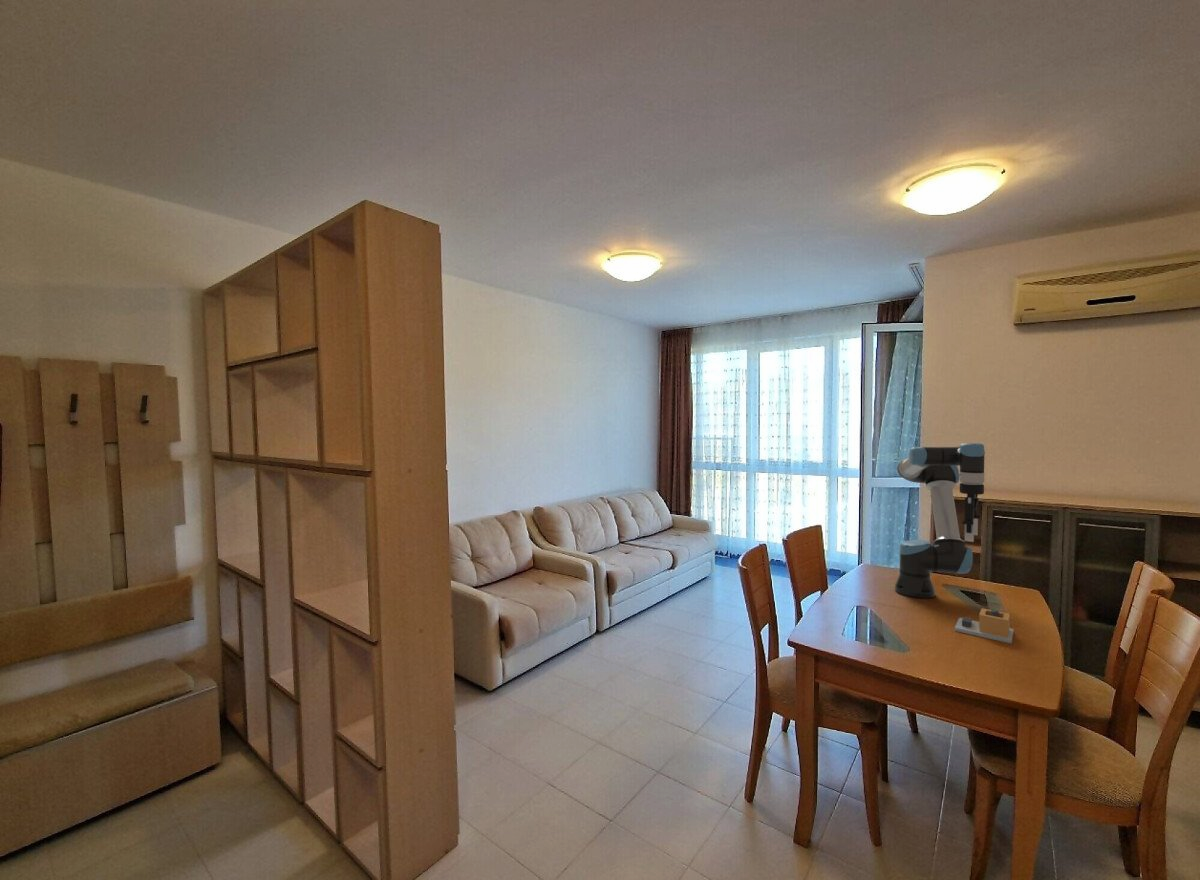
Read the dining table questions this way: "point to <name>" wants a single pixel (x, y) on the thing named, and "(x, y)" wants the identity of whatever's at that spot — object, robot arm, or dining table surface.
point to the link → (994, 623)
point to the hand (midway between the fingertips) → (971, 538)
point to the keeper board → (973, 628)
